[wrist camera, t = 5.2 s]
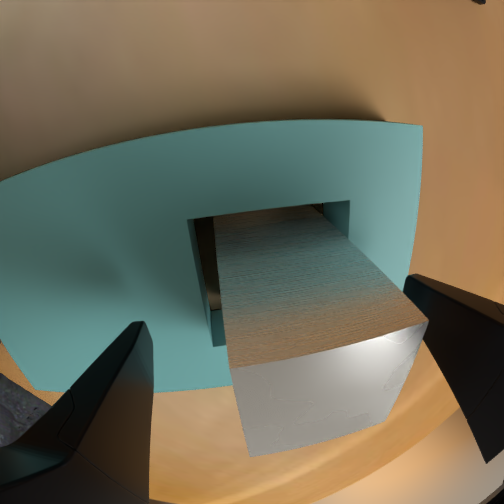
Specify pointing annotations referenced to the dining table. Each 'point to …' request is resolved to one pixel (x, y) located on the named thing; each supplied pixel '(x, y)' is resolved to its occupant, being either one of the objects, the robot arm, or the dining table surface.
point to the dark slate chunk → (17, 410)
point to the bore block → (182, 234)
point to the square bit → (309, 328)
